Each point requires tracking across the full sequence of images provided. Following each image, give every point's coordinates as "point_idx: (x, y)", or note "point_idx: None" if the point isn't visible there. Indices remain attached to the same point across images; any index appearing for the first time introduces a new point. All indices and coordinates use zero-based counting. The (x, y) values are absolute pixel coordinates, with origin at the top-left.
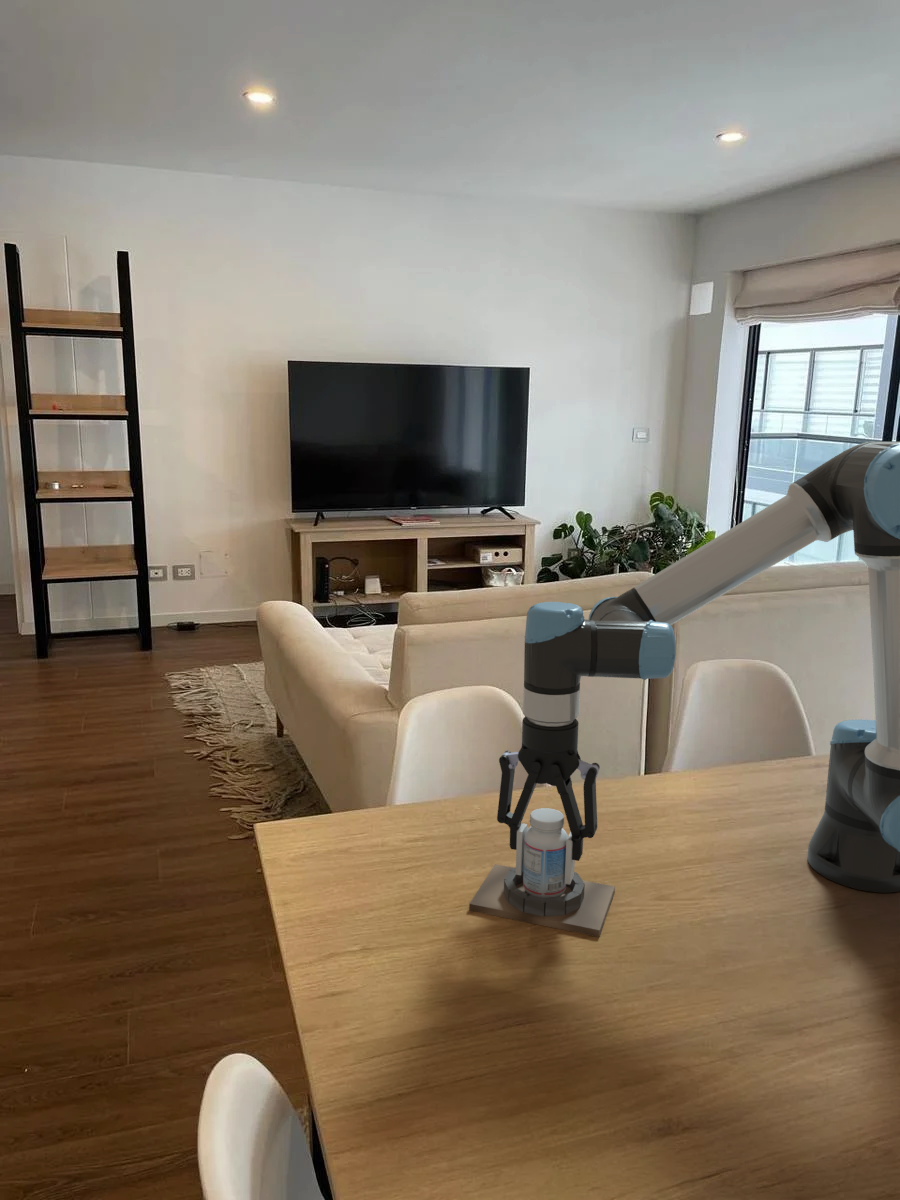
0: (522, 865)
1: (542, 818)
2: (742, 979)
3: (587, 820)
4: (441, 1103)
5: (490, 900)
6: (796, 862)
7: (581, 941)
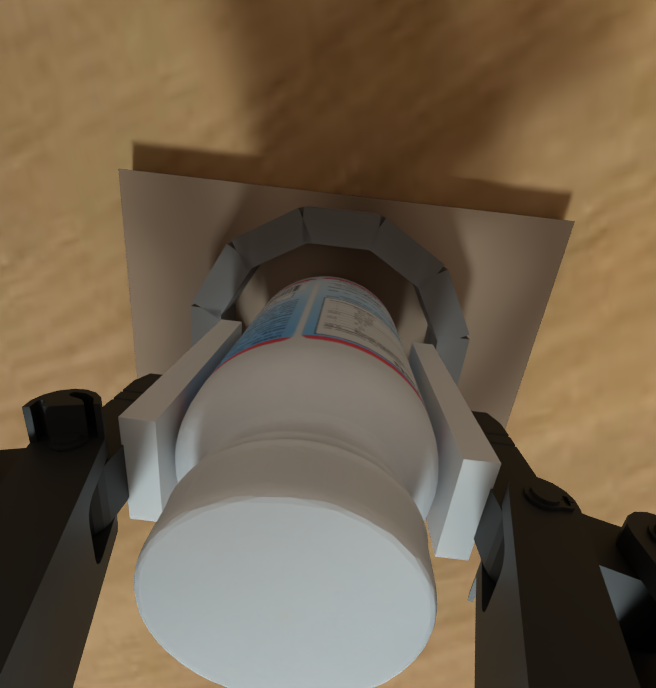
0: (413, 374)
1: (313, 554)
2: None
3: None
4: None
5: (498, 262)
6: None
7: (178, 128)
